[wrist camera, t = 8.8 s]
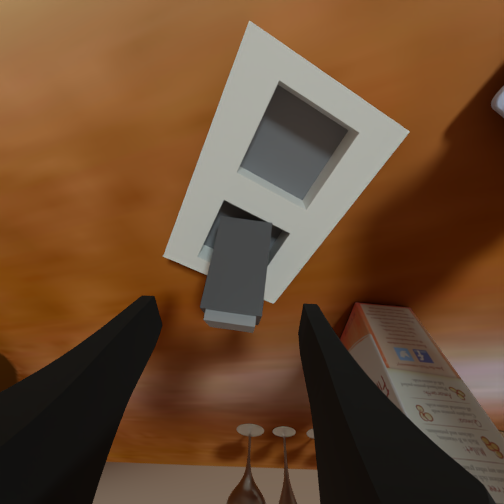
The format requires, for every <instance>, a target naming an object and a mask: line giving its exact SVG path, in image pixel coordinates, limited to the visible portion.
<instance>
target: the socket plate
mask: <svg viewBox="0 0 504 504" xmlns="http://www.w3.org/2000/svg"><path fill="white" fill-rule="evenodd" d="M408 133H409V131H408V130H407V129H405V128H404V127H402V126H401V125H399V124H398V123H397V122H395V121H394V120H392V119H391V118H389V117H388V116H386V115H385V114H384V113H382V112H381V111H379V110H378V109H376V108H375V107H373V106H372V105H371V104H369V103H368V102H366V101H365V100H363V99H362V98H360V97H359V96H358V95H356V94H355V93H353V92H352V91H350V90H349V89H347V88H346V87H345V86H343V85H342V84H340V83H339V82H337V81H336V80H335V79H333V78H332V77H330V76H329V75H327V74H326V73H324V72H323V71H322V70H320V69H319V68H317V67H316V66H314V65H313V64H311V63H310V62H309V61H307V60H306V59H304V58H303V57H301V56H300V55H298V54H297V53H296V52H294V51H293V50H291V49H290V48H288V47H287V46H285V45H284V44H283V43H281V42H280V41H278V40H277V39H275V38H274V37H273V36H271V35H270V34H268V33H267V32H265V31H264V30H262V29H261V28H260V27H258V26H257V25H255V24H254V23H252V22H251V21H249V23H248V26H247V28H246V31H245V34H244V37H243V39H242V42H241V45H240V47H239V50H238V53H237V56H236V58H235V61H234V64H233V67H232V69H231V72H230V75H229V78H228V80H227V83H226V86H225V89H224V91H223V94H222V97H221V99H220V102H219V105H218V108H217V110H216V113H215V116H214V119H213V121H212V124H211V127H210V130H209V132H208V135H207V138H206V141H205V143H204V146H203V149H202V152H201V154H200V157H199V160H198V162H197V165H196V168H195V171H194V173H193V176H192V179H191V182H190V184H189V187H188V190H187V193H186V195H185V198H184V201H183V204H182V206H181V209H180V212H179V214H178V217H177V220H176V223H175V225H174V228H173V231H172V234H171V236H170V239H169V242H168V245H167V247H166V250H165V253H164V256H163V257H165V258H168V259H170V260H172V261H175V262H177V263H179V264H182V265H184V266H186V267H189V268H191V269H193V270H196V271H198V272H200V273H203V274H205V275H208V271H209V266H210V262H211V258H212V253H213V249H214V245H215V241H216V236H217V232H218V228H219V223H220V219H221V216H225V217H232V218H240V219H247V220H255V221H262V222H270V223H272V230H271V239H270V248H269V257H268V266H267V274H266V283H265V292H264V300H266V301H268V302H270V303H273V304H274V303H275V301H276V300H277V299H278V298H279V296H280V295H281V294H282V293H283V291H284V290H285V289H286V288H287V286H288V285H289V284H290V282H291V281H292V280H293V279H294V277H295V276H296V275H297V274H298V272H299V271H300V270H301V269H302V267H303V266H304V265H305V264H306V262H307V261H308V260H309V258H310V257H311V256H312V255H313V253H314V252H315V251H316V250H317V248H318V247H319V246H320V245H321V243H322V242H323V241H324V240H325V238H326V237H327V236H328V234H329V233H330V232H331V231H332V229H333V228H334V227H335V226H336V224H337V223H338V222H339V221H340V219H341V218H342V217H343V216H344V214H345V213H346V212H347V210H348V209H349V208H350V207H351V205H352V204H353V203H354V202H355V200H356V199H357V198H358V197H359V195H360V194H361V193H362V192H363V190H364V189H365V188H366V186H367V185H368V184H369V183H370V181H371V180H372V179H373V178H374V176H375V175H376V174H377V173H378V171H379V170H380V169H381V168H382V166H383V165H384V164H385V162H386V161H387V160H388V159H389V157H390V156H391V155H392V154H393V152H394V151H395V150H396V149H397V147H398V146H399V145H400V144H401V142H402V141H403V140H404V138H405V137H406V136H407V135H408Z"/></svg>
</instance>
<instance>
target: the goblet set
mask: <svg viewBox="0 0 504 504" xmlns="http://www.w3.org/2000/svg"><path fill="white" fill-rule="evenodd" d="M237 431H238V433H240V434H242V435H245V436H249V443H248V458H247V465H246V470H245V473H244V476H243V478H242V479H241V481H240V482H239V484H238V485H237V486H236V487H235V489H234V490H233V491H232V493H231V494H230V496H229V498H228V500H227V503H226V504H266V502H265V499H264V497H263V495H262V493H261V492H260V490H259V489H258V487H257V486H256V484H255V482H254V479H253V477H252V473H251V465H250V447H251V436H259V435H262V434H263V433H264V429H263V428H262V427H261V426H258V425H255V424H242V425H239V426H238V427H237ZM295 433H296V431H295V430H294V429H293V428H290V427H284V426H282V427H277V428H274V429H273V434H275V435H276V436H279V437H283V440H284V482H283V488H282V493H281V497H280V500H279V504H297V502H296V499H295V497H294V494H293V491H292V488H291V484H290V480H289V474H288V466H287V455H286V440H285V437H290V436H293V435H295ZM307 436H309V437H310V438H314V431H313V429H310V430H308V431H307Z"/></svg>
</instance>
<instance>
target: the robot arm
mask: <svg viewBox="0 0 504 504" xmlns="http://www.w3.org/2000/svg"><path fill="white" fill-rule="evenodd" d="M491 107H492V109H493V110H494V111H496V112H497V113H498V114H499V115H501V116H502V117H503V118H504V86H503V87H502V88H501V89H500V90H499V91H498V92H497V93H496V95H495V96H494V97H493V99H492V102H491ZM161 328H162V322H161V318H160V315H159V311H158V307H157V304H156V300H155V297H154V296H141V297H140V298H138V299H137V300H136V301H135V302H133V303H132V304H131V305H130V306H128V307H127V308H126V309H125V310H123V311H122V312H121V313H120V314H118V315H117V316H116V317H115V318H113V319H112V320H111V321H110V322H108V323H107V324H106V325H104V326H103V327H102V328H101V329H99V330H98V331H97V332H95V333H94V334H92V335H91V336H90V337H88V338H87V339H86V340H84V341H83V342H82V343H80V344H79V345H77V346H76V347H75V348H73V349H72V350H70V351H69V352H67V353H66V354H64V355H63V356H61V357H60V358H58V359H56V360H55V361H53V362H52V363H50V364H49V365H47V366H45V367H44V368H42V369H40V370H39V371H37V372H35V373H34V374H32V375H30V376H28V377H27V378H25V379H23V380H22V381H20V382H18V383H16V384H15V385H13V386H11V387H9V388H8V389H6V390H4V391H2V392H0V504H92V503H93V499H94V496H95V493H96V490H97V486H98V483H99V480H100V477H101V474H102V471H103V468H104V465H105V463H106V460H107V457H108V454H109V451H110V448H111V445H112V443H113V440H114V437H115V434H116V432H117V429H118V426H119V424H120V421H121V419H122V416H123V413H124V411H125V408H126V406H127V403H128V401H129V399H130V397H131V394H132V392H133V390H134V388H135V386H136V384H137V382H138V380H139V378H140V376H141V374H142V372H143V370H144V368H145V366H146V364H147V362H148V360H149V358H150V356H151V354H152V352H153V350H154V347H155V345H156V343H157V340H158V337H159V334H160V331H161ZM298 335H299V347H300V356H301V361H302V366H303V371H304V377H305V382H306V387H307V392H308V397H309V402H310V408H311V414H312V422H313V431H314V440H315V450H316V460H317V470H318V481H319V491H320V504H496V503H495V501H494V499H493V498H492V496H491V495H490V493H489V492H488V490H487V489H486V487H485V486H484V484H482V483H481V482H480V481H479V480H478V479H477V478H475V477H474V476H473V475H472V474H471V473H469V472H468V471H467V470H466V469H465V468H463V467H462V466H461V465H460V464H459V463H458V462H456V461H455V460H454V459H453V458H452V457H450V456H449V455H448V454H447V453H446V452H444V451H443V450H442V449H441V448H440V447H439V446H438V445H437V444H435V443H434V442H433V441H432V440H431V439H430V438H429V437H428V436H427V435H426V434H424V433H423V432H422V431H421V430H420V429H419V428H418V427H417V426H416V425H415V424H414V423H413V422H412V421H411V420H410V419H409V418H408V417H407V416H406V415H405V414H404V413H403V412H402V411H401V410H400V409H399V408H398V407H397V406H396V405H395V404H394V403H393V402H392V401H391V400H390V399H389V398H388V397H387V396H386V395H385V394H384V393H383V392H382V391H381V390H380V389H379V388H378V386H377V385H376V384H375V383H374V382H373V381H372V380H371V379H370V377H369V376H368V375H367V374H366V373H365V372H364V370H363V369H362V368H361V367H360V366H359V364H358V363H357V362H356V360H355V359H354V358H353V357H352V355H351V354H350V353H349V351H348V350H347V349H346V347H345V346H344V345H343V343H342V342H341V340H340V339H339V338H338V336H337V335H336V333H335V332H334V330H333V329H332V327H331V326H330V324H329V323H328V321H327V320H326V318H325V316H324V315H323V313H322V311H321V310H320V308H319V306H318V305H317V304H303V310H302V315H301V321H300V326H299V332H298Z"/></svg>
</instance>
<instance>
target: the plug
mask: <svg viewBox="0 0 504 504" xmlns="http://www.w3.org/2000/svg"><path fill="white" fill-rule="evenodd" d="M271 230H272V223H270V222H262V221H255V220H247V219H240V218H232V217H225V216H221V219H220V223H219V228H218V232H217V236H216V241H215V245H214V249H213V253H212V258H211V262H210V266H209V271H208V275H207V279H206V283H205V288H204V292H203V296H202V301H201V305H200V308H201V309H202V311H203V312H204V313H205V315H204V321H205V322H206V323H207V324H208V325H209V326H210V327H216V328H223V329H230V330H237V331H244V332H250V333H253V331H254V328H255V325H258V324H259V322H260V319H261V317H262V310H263V301H264V292H265V283H266V274H267V266H268V257H269V248H270V239H271Z"/></svg>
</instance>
